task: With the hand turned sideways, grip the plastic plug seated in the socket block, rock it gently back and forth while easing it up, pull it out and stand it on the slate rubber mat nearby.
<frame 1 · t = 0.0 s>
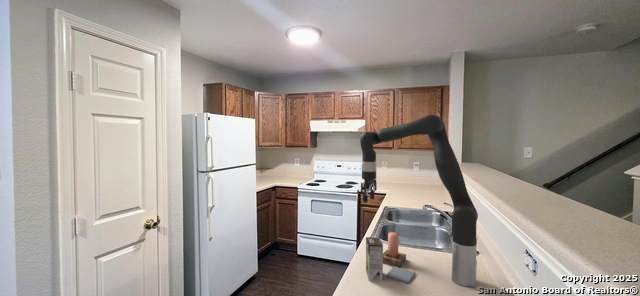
hand: (368, 200, 144), 29 cm above the worktop, tool pointing down, fingers open, 8 cm apart
mat: (400, 275, 125), on the worktop
coffee box: (373, 276, 125), on the worktop
socket block: (393, 261, 139), on the worktop
plug: (393, 247, 139), in the socket block
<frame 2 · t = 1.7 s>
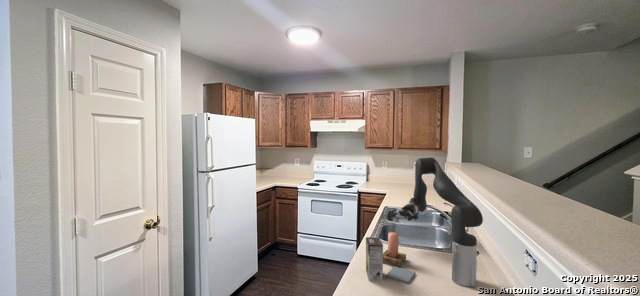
hand: (400, 217, 147), 20 cm above the worktop, tool horizontal, fingers open, 8 cm apart
nothing on the worktop moved.
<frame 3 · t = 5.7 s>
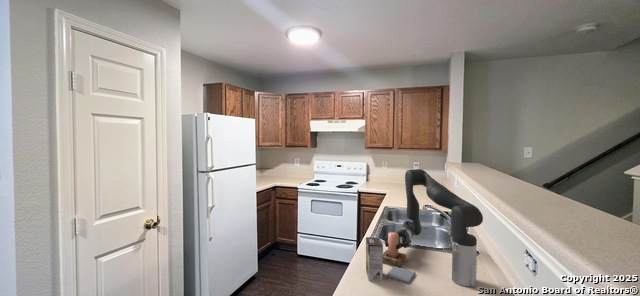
hand: (391, 246, 137), 8 cm above the worktop, tool horizontal, fingers closed on plug, 5 cm apart
plug: (393, 247, 139), in the socket block, touching gripper
everything else where it was.
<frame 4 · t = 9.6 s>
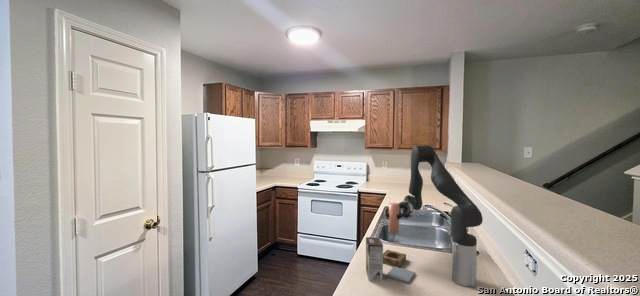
hand: (392, 216, 135), 24 cm above the worktop, tool horizontal, fingers closed on plug, 5 cm apart
plug: (393, 217, 137), point 22 cm above the worktop, touching gripper
everything else where it was.
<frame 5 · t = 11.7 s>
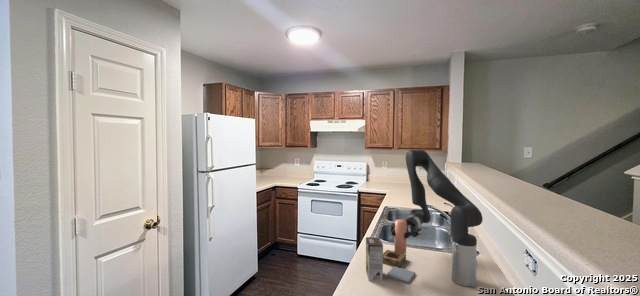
hand: (399, 235, 122), 19 cm above the worktop, tool horizontal, fingers closed on plug, 5 cm apart
plug: (400, 236, 123), point 18 cm above the worktop, touching gripper
everything else where it was.
when the fingers open (10 cm above the worktop, at t = 13.7 s): plug stays where it is, resting on mat.
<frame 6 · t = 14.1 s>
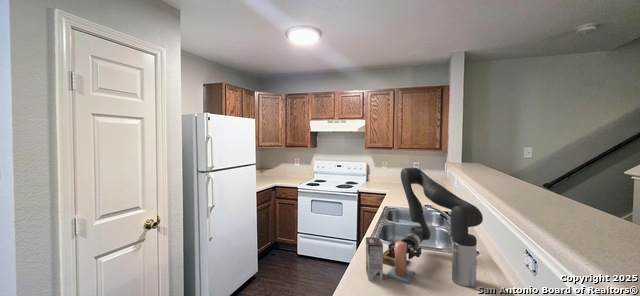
hand: (399, 254, 123), 10 cm above the worktop, tool horizontal, fingers open, 8 cm apart
plug: (400, 258, 124), on the mat, point 8 cm above the worktop
everything else where it was.
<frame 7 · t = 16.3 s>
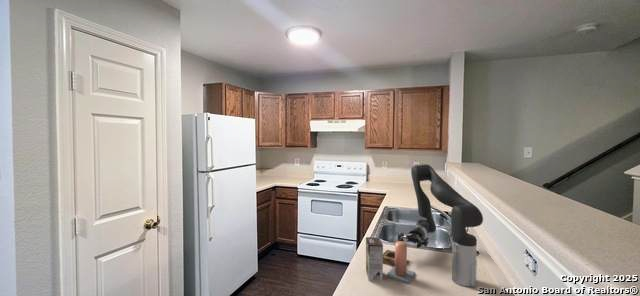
hand: (408, 243, 133), 11 cm above the worktop, tool horizontal, fingers open, 8 cm apart
nothing on the worktop moved.
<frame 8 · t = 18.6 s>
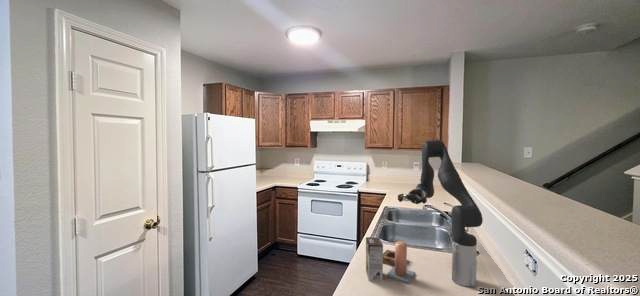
hand: (408, 201, 141), 30 cm above the worktop, tool horizontal, fingers open, 8 cm apart
nothing on the worktop moved.
at the end: plug inside the target area on the mat (0.4 cm from its centre), point 8.0 cm above the mat's base; plug tilted 1°; the gripper is holding nothing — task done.
